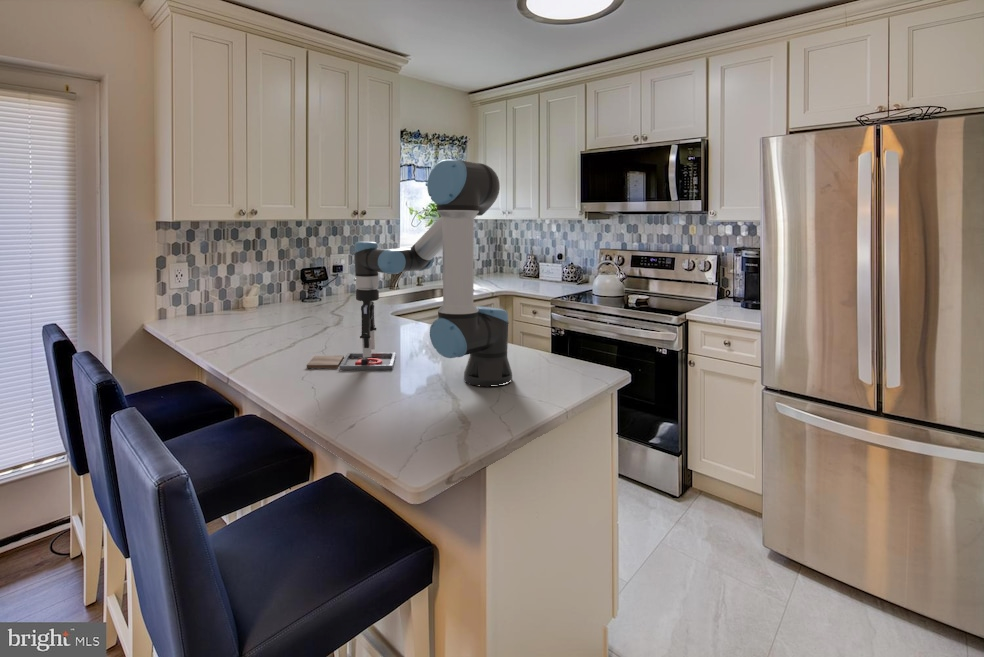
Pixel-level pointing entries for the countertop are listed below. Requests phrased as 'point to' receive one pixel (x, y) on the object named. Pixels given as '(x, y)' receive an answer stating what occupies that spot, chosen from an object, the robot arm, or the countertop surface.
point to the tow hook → (366, 361)
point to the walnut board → (325, 362)
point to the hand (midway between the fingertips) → (369, 352)
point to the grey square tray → (368, 367)
